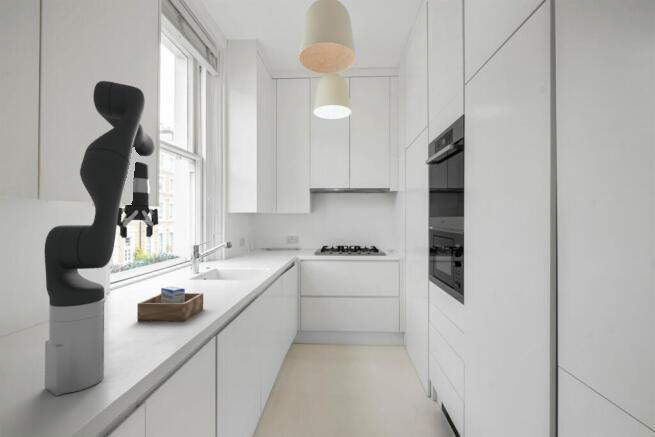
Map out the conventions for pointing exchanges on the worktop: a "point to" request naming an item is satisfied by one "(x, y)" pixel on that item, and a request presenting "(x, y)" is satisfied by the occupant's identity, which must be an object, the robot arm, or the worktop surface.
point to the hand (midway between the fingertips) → (136, 237)
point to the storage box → (169, 309)
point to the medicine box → (172, 295)
